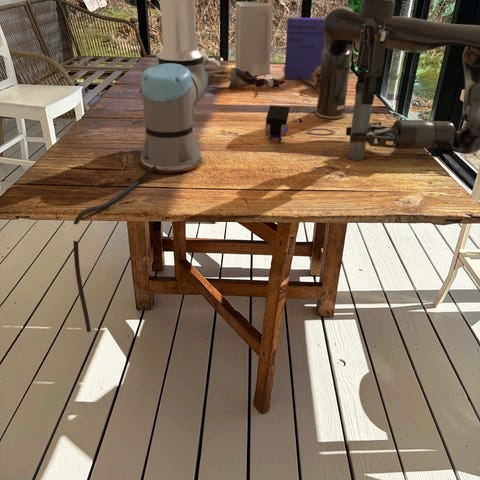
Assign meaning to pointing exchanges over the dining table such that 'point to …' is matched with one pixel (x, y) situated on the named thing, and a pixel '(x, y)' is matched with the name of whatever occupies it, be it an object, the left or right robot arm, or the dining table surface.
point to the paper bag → (253, 37)
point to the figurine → (246, 79)
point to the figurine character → (276, 122)
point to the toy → (205, 60)
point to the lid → (360, 86)
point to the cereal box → (303, 47)
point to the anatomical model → (316, 78)
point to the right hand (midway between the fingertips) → (348, 134)
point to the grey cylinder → (359, 127)
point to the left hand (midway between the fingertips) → (363, 100)
